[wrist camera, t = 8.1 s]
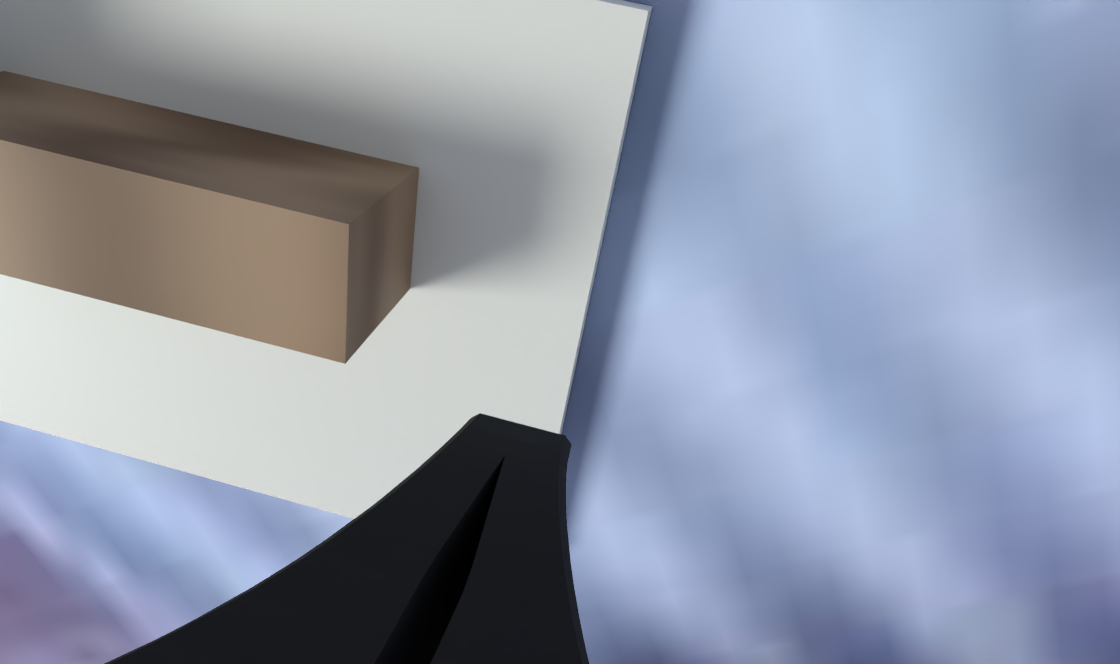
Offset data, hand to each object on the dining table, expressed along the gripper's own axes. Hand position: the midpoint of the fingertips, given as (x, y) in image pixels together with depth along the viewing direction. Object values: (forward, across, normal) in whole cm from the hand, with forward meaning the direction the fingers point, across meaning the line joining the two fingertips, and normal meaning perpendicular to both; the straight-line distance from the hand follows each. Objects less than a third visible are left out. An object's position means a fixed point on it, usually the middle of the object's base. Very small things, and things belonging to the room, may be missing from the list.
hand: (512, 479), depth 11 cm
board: (+8, +13, +2) cm, 15 cm away
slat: (+7, +9, 0) cm, 12 cm away
